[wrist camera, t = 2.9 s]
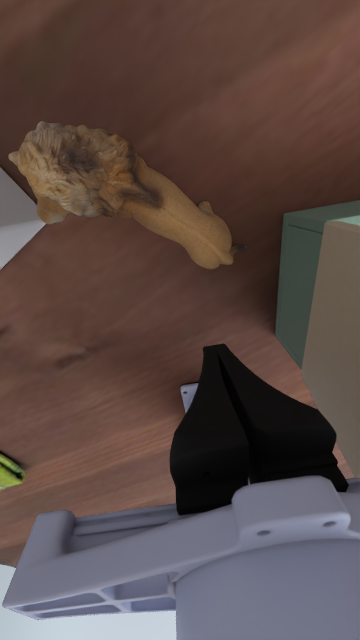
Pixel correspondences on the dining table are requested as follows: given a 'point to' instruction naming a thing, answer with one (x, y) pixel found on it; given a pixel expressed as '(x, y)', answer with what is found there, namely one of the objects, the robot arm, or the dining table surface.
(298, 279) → the box
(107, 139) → the lion figurine
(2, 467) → the dish towel
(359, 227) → the lid
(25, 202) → the medicine bottle
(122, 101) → the dining table surface
